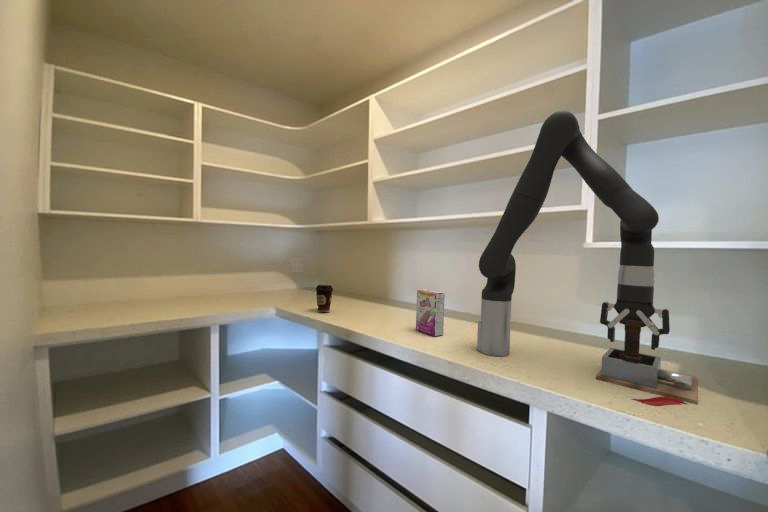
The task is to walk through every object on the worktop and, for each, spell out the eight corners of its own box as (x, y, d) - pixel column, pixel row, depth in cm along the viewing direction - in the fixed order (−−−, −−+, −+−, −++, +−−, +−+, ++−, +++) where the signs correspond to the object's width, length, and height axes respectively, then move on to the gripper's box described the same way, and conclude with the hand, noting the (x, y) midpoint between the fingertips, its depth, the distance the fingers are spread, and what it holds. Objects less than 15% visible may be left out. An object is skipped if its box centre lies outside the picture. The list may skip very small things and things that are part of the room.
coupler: (601, 375, 85) (602, 356, 84) (613, 360, 98) (614, 343, 97) (691, 397, 73) (692, 375, 73) (691, 376, 86) (692, 357, 86)
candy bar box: (414, 330, 130) (416, 289, 130) (424, 329, 133) (425, 289, 133) (434, 337, 121) (435, 293, 121) (443, 335, 124) (445, 292, 124)
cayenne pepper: (632, 404, 72) (633, 396, 72) (625, 395, 76) (625, 387, 76) (701, 415, 68) (702, 406, 68) (689, 405, 72) (690, 397, 72)
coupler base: (595, 379, 85) (595, 375, 84) (610, 361, 99) (610, 358, 99) (697, 405, 71) (697, 400, 71) (696, 380, 86) (696, 376, 86)
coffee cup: (323, 313, 158) (324, 286, 158) (311, 311, 163) (312, 285, 163) (335, 310, 166) (336, 285, 165) (323, 308, 170) (324, 283, 170)
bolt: (641, 374, 86) (644, 318, 86) (646, 381, 82) (649, 322, 81) (615, 370, 89) (617, 315, 88) (618, 376, 84) (621, 319, 84)
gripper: (599, 281, 87) (597, 341, 87) (671, 287, 77) (667, 355, 77) (605, 280, 92) (602, 336, 93) (672, 285, 82) (669, 348, 83)
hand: (632, 345), depth 85 cm, fingers open, 8 cm apart
